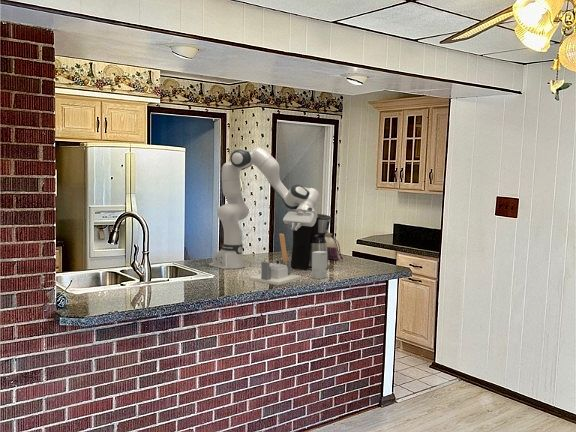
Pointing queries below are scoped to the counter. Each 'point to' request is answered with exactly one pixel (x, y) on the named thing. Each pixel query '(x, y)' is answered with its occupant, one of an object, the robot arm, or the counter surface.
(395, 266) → the counter surface
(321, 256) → the skincare box
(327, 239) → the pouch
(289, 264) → the socket board
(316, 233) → the coffee maker
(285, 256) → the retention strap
